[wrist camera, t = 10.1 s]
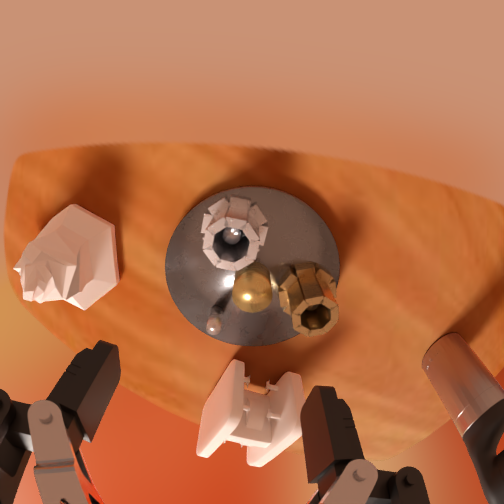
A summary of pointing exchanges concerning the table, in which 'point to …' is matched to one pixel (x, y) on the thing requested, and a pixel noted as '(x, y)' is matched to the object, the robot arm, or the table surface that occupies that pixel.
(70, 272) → the white faceted rock
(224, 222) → the gear
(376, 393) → the table surface
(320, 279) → the seated gear
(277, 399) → the cable organizer
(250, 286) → the carrier
